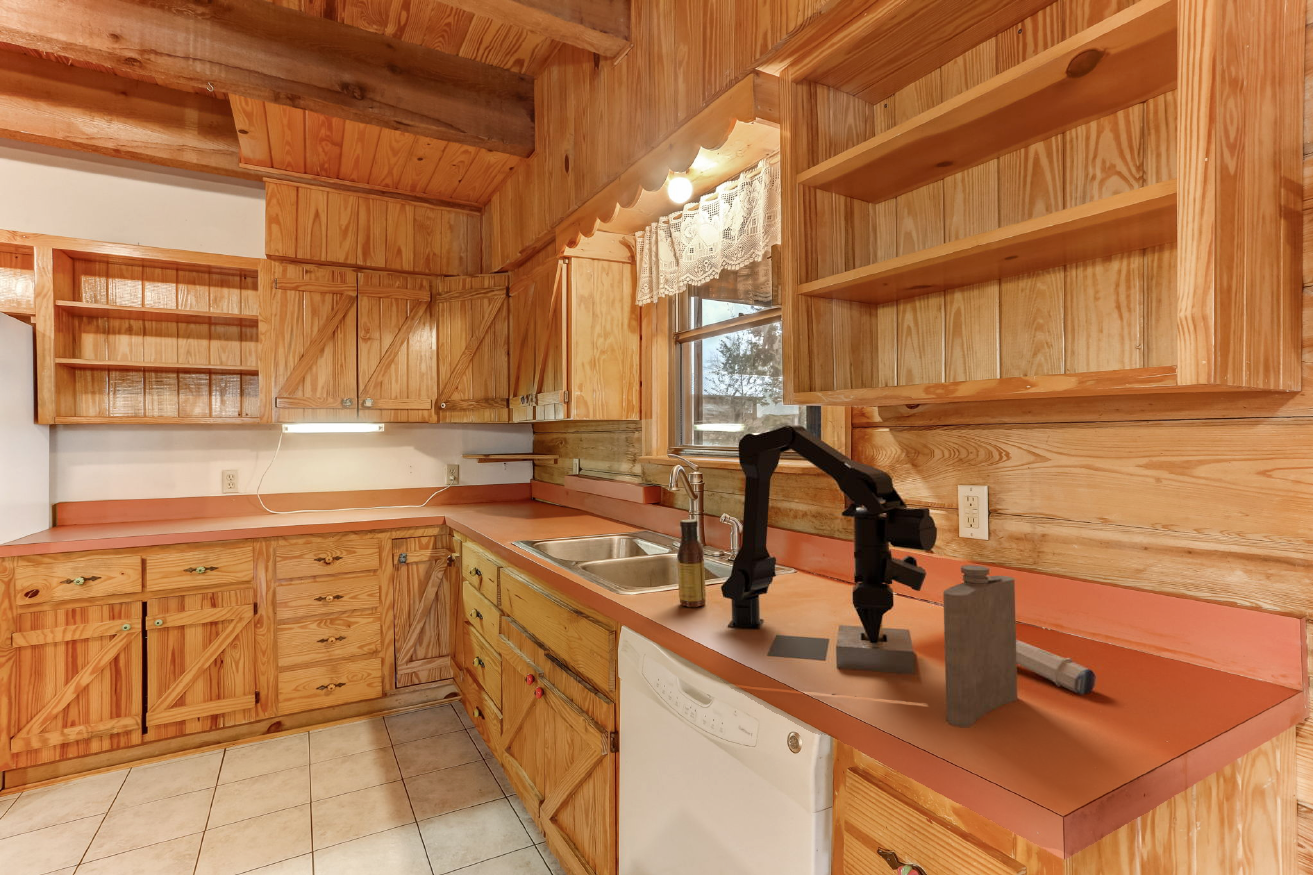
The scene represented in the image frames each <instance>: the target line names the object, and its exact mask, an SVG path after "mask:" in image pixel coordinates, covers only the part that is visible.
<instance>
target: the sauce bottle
mask: <svg viewBox="0 0 1313 875" xmlns="http://www.w3.org/2000/svg"><path fill="white" fill-rule="evenodd" d="M698 524H699V523H698V519H693V518H690V519H689V518H688V519H682V520H680V521H679V526H680V531H681V532H680V533H681V537H680V538H681V539H680V543H679V547H678V552H677V554H676V555H677V556H676V560H677V561H676V562H677V577H678V578H677V579H678V580H677V581H678V598H679V604H680V605H681V606H682V607H685V606H687V607H686V608H691V607H695V608H699V606H701V607H703V606H705V605H706V602H707V601H706V598H707V592H706V591H707V590H706V574H705V559H704V548H703V546H702V544H701V543H700V541H699V539H698V538H699V536H698Z"/></svg>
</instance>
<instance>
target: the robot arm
mask: <svg viewBox="0 0 1313 875" xmlns="http://www.w3.org/2000/svg"><path fill="white" fill-rule="evenodd" d="M737 448H738V459H739V461H738V462H739V465H740V467H741V469H742V472H743V475H745V476H744V477H745V483H744V484H745V486H744V499H743V500H744V501H743V516H742V517H743V519H742V532H741V533H742V534H741V547H740V548H739V549H738V552H737V554H736V555H735V557H734V558H733V562H732V567H731V570H730V571H731V572H730V576H729V577H728V578H727V579H726V581H725V582H723V584H722V585H721V586H720V589H721V593H722V596H723V598H726V599H730V600H731V620H730V622H728V625H727V628H732V629H746V630H747V629H748V630H760V628H761V627H762V625H763V624H764V621H765V620H764V619H763V618H760V617H761V614H760V612H761V611H760V596H761V595H763V594H764V595H767V594H768V590H769V587H770V585H771V584H772V582H773V580H774V577H777V575H776V565H777V564H776V563H777V558H776V556H771V555H770V553H769V551H768V549H767V539H768V536H767V535H768V524H769V523H768V520H769V509H770V508H769V506H770V489H771V480H772V479H771V478H772V476H773V475H774V472H775V471H776V469H777V468H778V465H779V463H780V458H781V454H783V453H785V452H789V451H791V450H792V451H793V452H795V453H796V454H797V455H799V456H800V457H802V458H804V459H805V460H806V461H808V462H809V463H811V465H814V467H816V468H818V469H819V470H821V471H822V472H823V473H825V474H827V475H828V476H829V477H831V478H832V480H834V481H835V482H836V484H837V486H838V489H839V490H840V491H841V492H842V494H844V495H845V496H846V497H847V498H848V499H849V500H850V501H851V502H850V504H849V505H848V507H847V508H846V509H844V510H843V511H842V513H841V515H842V517H850V518H853V558H854V570H853V571H854V574H853V576H854V586H853V587H852V593H851V594H852V605H853V607H854V609H855V611H856V613H857V615H858V618H859V620H860V622H861V624H862V627H864V629H865V631H866V634H867V636H868V638H869V641H870V643H877V642H878V637H879V632H880V627H881V622H882V618H884V617H883V616H884V615H885V614H886V613H887V612H888V611H891V610H892V609H893V608H894V607H895V606H894V601H895V600H894V591H893V589H892V587H891V585H893V582H896V583H899V584H902V585H904V586H906V587H910V588H911V590H914V591H918V592H920V591H921V589H922V587H923V584H924V581H925V579H926V575H927V571H926V570H925V569H924V568H923V567H922V566H918V563H917V559H916V557H914V556H912V555H909V554H907V555H906V556H904V557H903V558H902V559H901V558H895V557H893V556H892V551H891V549H890V545H891V546H893V547H894V548H901V549H909V550H917V551H925V552H930V551H932V549H933V548H934V547H935V545H936V542H937V536H938V529H937V528H938V527H937V526H936V523H935V519H934V518H933V517H932V516H931V515H930V514H931V513H930V508H929V507H919V508H918V507H908V506H907V504H906V503H905V501H904V499H902V497H901V496H900V494H899V492H898V491H897V489H896V488H895V487H894V484H893V478H892V477H891V476H890V474H888V473H887V472H885V471H884V470H881V469H879V468H877V467H874V466H873V465H872V466H871V465H868V464H866V463H861V462H859V461H855V460H853V459H851V458H850V457H848V456H846V455H845V454H843V453H842V452H840V451H838V450H837V449H835V448H834V447H833V446H831V445H830V444H828V443H826V442H825V441H824V440H822V439H820V438H819V437H817V436H816V435H815V434H813V433H811V432H810V431H808V430H807V429H806V428H805V427H804V426H803V425H800V424H795V425H791V424H789V425H784V426H781V427H779V428H776V429H773V430H769V431H765V432H759V433H757V432H755V433H746V434H744V435H743V437H742V438H740V439H739V442H738V447H737Z"/></svg>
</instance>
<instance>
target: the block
mask: <svg viewBox="0 0 1313 875" xmlns="http://www.w3.org/2000/svg"><path fill="white" fill-rule="evenodd" d="M837 631H838V632H837V638H836V644H835V657H836V659H835V660H836V661H835V662H836V669H845V670H846V669H848V670H859V671H868V672H869V671H870V672H881V673H894V674H895V673H896V674H906V675H915V654H914V652H915V651H914V645H913V642H912V637H911V632H910V631H911V630H910V629H907V628H906V629H905V628H892V627H891V628H890V627H889V628H888V627H883V642H877V643H870V641H865V633H864V627H863V625H862V626H861V625H860V626H859V625H843V624H839V626H838V630H837Z"/></svg>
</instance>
